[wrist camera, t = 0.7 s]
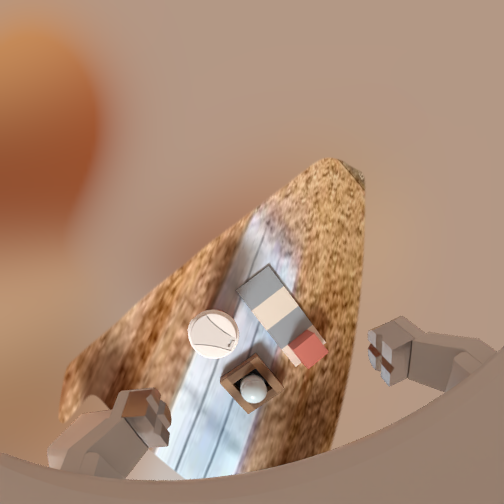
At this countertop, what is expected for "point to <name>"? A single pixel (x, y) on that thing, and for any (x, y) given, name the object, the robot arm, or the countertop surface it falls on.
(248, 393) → the dome
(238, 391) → the button box
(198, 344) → the paper cup
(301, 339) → the red block
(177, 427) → the countertop surface
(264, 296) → the track
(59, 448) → the milk
